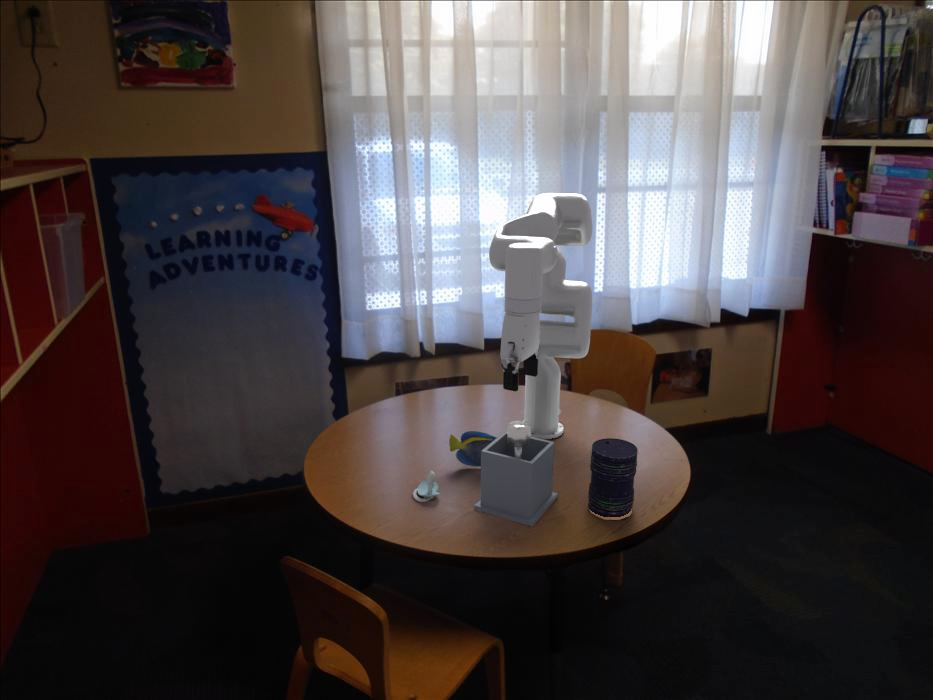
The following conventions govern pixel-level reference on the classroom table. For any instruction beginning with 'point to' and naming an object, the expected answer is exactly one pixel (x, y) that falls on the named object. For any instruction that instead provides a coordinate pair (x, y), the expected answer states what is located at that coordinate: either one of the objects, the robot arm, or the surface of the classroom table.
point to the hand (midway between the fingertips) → (520, 382)
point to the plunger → (518, 436)
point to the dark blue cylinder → (612, 477)
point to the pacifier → (427, 489)
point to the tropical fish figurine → (470, 446)
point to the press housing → (517, 480)
